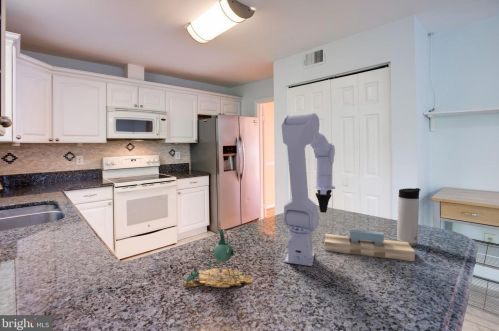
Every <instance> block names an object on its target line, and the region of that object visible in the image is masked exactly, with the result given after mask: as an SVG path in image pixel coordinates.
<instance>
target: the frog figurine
mask: <svg viewBox="0 0 499 331" xmlns="http://www.w3.org/2000/svg"><path fill="white" fill-rule="evenodd" d="M218 231H219V237H220V240H219V241H218V242H217V243H216V245H215V246H214V248H213V256H212V257H210V259H208V258H205V259H203V260H202V263H204V262H205V261H208V262H209V264H207V265H208V266H207V268H208V270H207V269H205V270H199V269H197V267H196V265H194V270H193V271H192V270H191V271H190V273H188V276H187V277H186V280H185V281H184V283H183V284H182V285H183V286H184V287H186V288H190V287H199V286H203V285H204V286H206V287H212V288H213V287H214V288H230V287H233V286H234V287H235V286H242V284H244V283H245V284H253V283H254V279H253V278H252V277H250V276H247V275H245V273H244V272H243V271H238V270H234V268H233V266H232V265H231V264H229V263H226V262H228V261H230V259H231V258H232V256H235V255H236V252H237V253H239V252H240V250H239V249H236V250H234V249H235V248H233V247H232V245H231V244H230V243H231V241H230V240H229V237H228V236H227V237H226V239H225V233H224V229H223V228H221V227H220V228H219V229H218ZM212 259H215V261H214V262H213V261H212ZM217 262H219V263H217ZM221 263H223V264H224V265H225V266H226V268H225V269H220V268H219V266H218V265H220V264H221ZM211 265H216V267H217V268H212V267H211ZM229 267H230V268H229Z"/></svg>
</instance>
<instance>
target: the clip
mask: <svg viewBox="0 0 499 331" xmlns="http://www.w3.org/2000/svg"><path fill="white" fill-rule="evenodd" d="M349 236H350V239H352V242H354V243H358V239H359V240H369V241H374V245H381V244H382V242H384V240H385V234H384V232H382V231H381V232H380V231H374V230H373V231H371V230H359V229H351V228H350V229H349Z"/></svg>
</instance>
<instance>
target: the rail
mask: <svg viewBox="0 0 499 331" xmlns="http://www.w3.org/2000/svg"><path fill="white" fill-rule="evenodd" d="M324 251H328V252H336V253H342V254H353V255H359V256H361V255H362V256H367V257H374V258H375V257H377V258H384V259H385V258H386V259H392V260H402V261H410V262H415V259H416V258H415V257H416V251H415V250H414V249H413V246H410V245H409V244H408V242H400V241H397V240H390V239H389V240H388V239H384V242H382V244H381V245H374V241H369V240H359V239H358V243H354V242H352V239H350V235H339V234H330V233H325V236H324Z"/></svg>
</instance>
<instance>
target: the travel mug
mask: <svg viewBox="0 0 499 331" xmlns="http://www.w3.org/2000/svg"><path fill="white" fill-rule="evenodd" d="M420 191H421V188H418V187H415V188H411V187H409V188H400V189H398V198H397V199H398V201H397V223H396V225H397V226H396V241H400V242H408V244H409V245H410V246H411V247H416V246H418V238H419V236H418V235H419V233H418V232H419V216H420V215H419V211H420Z"/></svg>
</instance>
